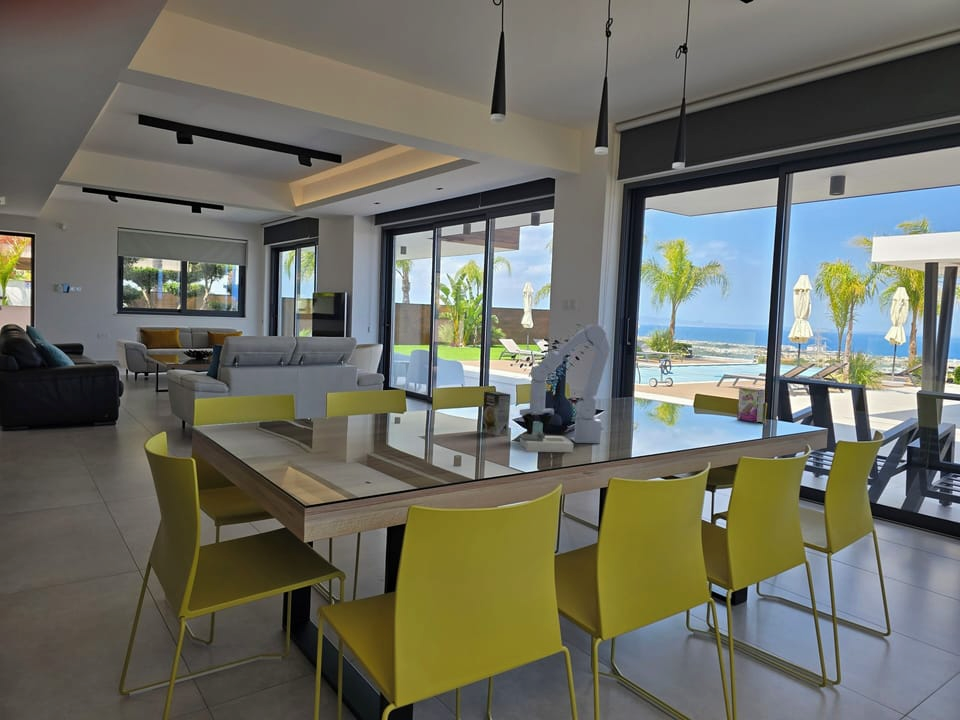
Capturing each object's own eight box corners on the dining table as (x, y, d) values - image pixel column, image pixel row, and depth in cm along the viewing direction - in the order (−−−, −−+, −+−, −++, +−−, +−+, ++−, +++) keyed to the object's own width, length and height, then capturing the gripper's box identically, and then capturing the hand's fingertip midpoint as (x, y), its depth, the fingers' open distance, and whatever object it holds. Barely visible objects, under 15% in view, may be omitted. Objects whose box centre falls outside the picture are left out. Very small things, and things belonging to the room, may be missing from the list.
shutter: (540, 436, 224) (540, 430, 224) (544, 440, 217) (544, 434, 217) (519, 436, 224) (519, 430, 223) (523, 440, 216) (523, 433, 216)
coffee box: (481, 432, 246) (483, 391, 245) (494, 431, 250) (496, 390, 249) (496, 436, 239) (498, 394, 238) (509, 435, 243) (511, 393, 242)
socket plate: (562, 444, 229) (563, 436, 229) (572, 452, 215) (573, 443, 215) (519, 443, 227) (520, 435, 227) (527, 451, 213) (527, 442, 213)
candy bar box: (736, 419, 313) (738, 386, 312) (743, 419, 316) (745, 386, 315) (756, 423, 303) (758, 389, 302) (762, 422, 306) (765, 389, 305)
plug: (539, 438, 238) (540, 421, 238) (542, 440, 234) (542, 423, 234) (529, 438, 238) (530, 421, 237) (531, 440, 234) (532, 423, 233)
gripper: (527, 399, 228) (526, 436, 229) (559, 398, 235) (557, 434, 236) (517, 397, 234) (515, 433, 235) (548, 396, 241) (546, 431, 242)
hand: (535, 433), depth 236 cm, fingers closed on plug, 5 cm apart
